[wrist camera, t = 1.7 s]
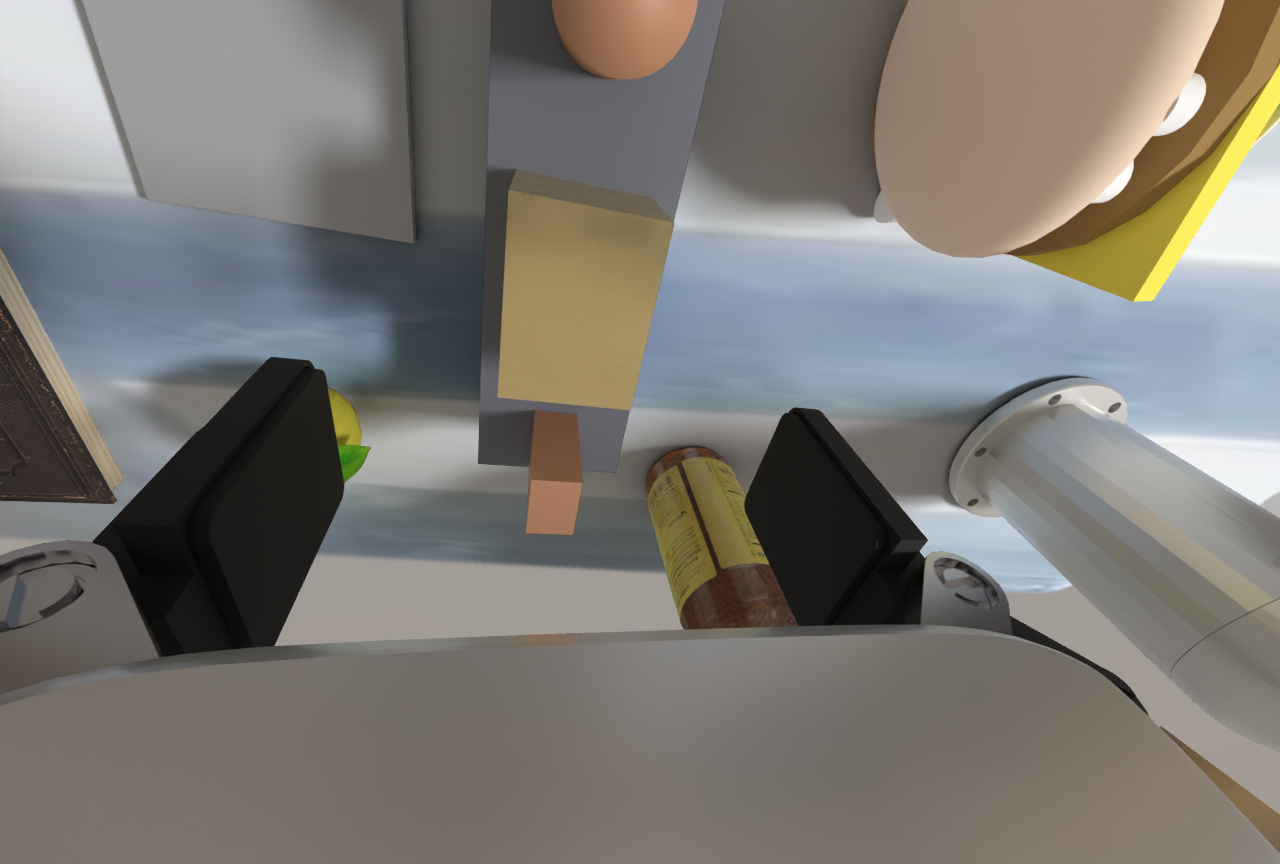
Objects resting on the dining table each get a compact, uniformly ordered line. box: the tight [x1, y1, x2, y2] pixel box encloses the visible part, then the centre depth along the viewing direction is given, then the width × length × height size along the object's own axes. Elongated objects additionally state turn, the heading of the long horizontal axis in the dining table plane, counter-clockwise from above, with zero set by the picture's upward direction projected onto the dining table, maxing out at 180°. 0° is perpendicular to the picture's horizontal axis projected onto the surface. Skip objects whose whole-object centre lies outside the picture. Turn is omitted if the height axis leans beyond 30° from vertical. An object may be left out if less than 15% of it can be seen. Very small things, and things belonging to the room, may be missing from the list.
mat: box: [82, 0, 417, 244], centre depth 18 cm, size 10×10×1 cm
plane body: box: [478, 0, 725, 535], centre depth 20 cm, size 7×20×10 cm, turn 168°
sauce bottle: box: [646, 447, 798, 630], centre depth 26 cm, size 7×6×20 cm
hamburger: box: [874, 0, 1280, 302], centre depth 17 cm, size 12×8×12 cm
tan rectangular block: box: [498, 170, 674, 410], centre depth 18 cm, size 5×7×4 cm
